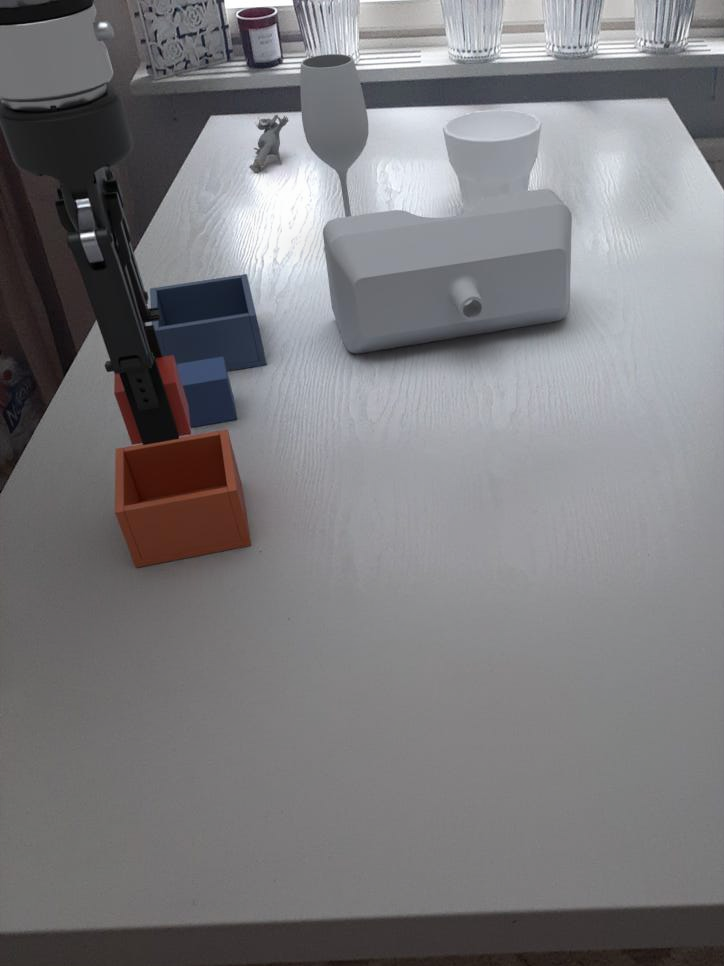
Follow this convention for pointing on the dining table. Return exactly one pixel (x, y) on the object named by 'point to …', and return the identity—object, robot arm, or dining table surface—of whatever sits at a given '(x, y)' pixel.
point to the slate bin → (209, 322)
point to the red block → (173, 393)
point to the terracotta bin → (180, 498)
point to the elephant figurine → (268, 141)
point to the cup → (492, 152)
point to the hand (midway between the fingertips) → (159, 421)
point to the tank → (449, 271)
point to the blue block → (207, 391)
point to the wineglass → (334, 113)
